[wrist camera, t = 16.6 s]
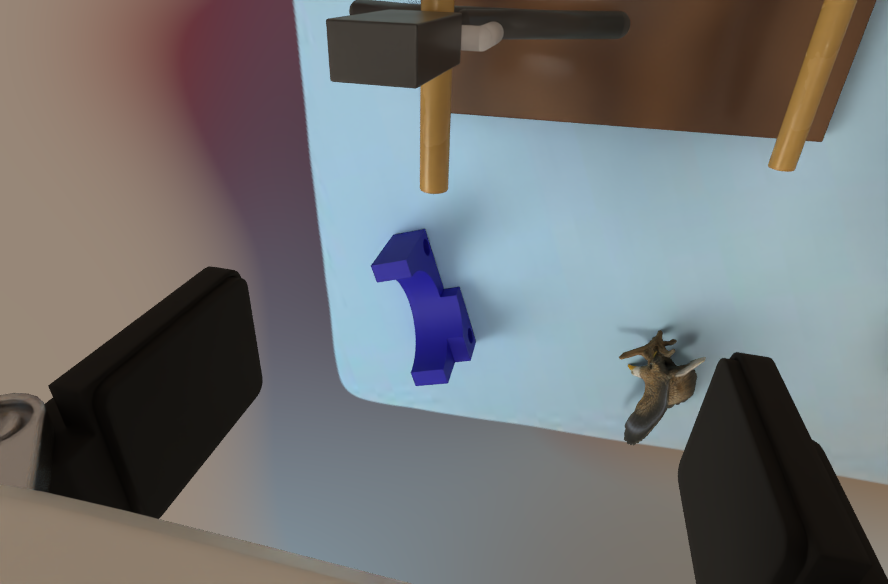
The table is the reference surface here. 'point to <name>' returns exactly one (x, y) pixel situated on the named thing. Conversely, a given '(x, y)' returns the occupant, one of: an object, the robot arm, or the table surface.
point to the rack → (659, 73)
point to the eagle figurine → (658, 386)
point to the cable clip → (428, 307)
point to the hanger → (443, 37)
